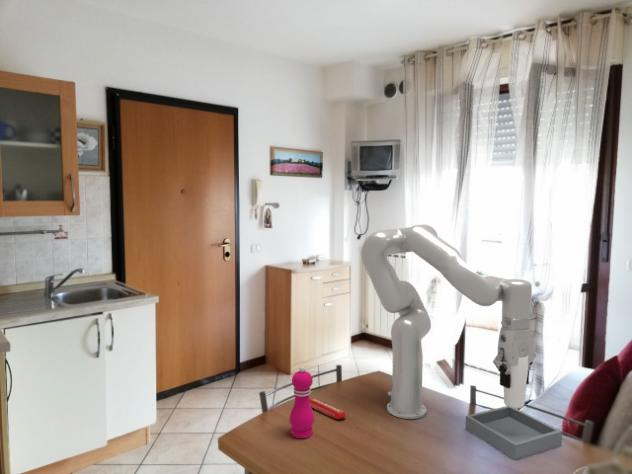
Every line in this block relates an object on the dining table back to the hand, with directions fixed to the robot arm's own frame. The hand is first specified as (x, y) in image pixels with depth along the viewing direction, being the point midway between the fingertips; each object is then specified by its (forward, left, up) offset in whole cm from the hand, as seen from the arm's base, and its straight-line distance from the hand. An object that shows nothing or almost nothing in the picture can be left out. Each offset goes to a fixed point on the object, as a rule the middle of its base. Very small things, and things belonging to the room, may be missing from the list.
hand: (514, 384), depth 127 cm
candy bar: (-36, -43, -16) cm, 58 cm away
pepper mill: (-26, -55, -16) cm, 63 cm away
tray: (0, 0, -16) cm, 16 cm away
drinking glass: (0, 0, -6) cm, 6 cm away
